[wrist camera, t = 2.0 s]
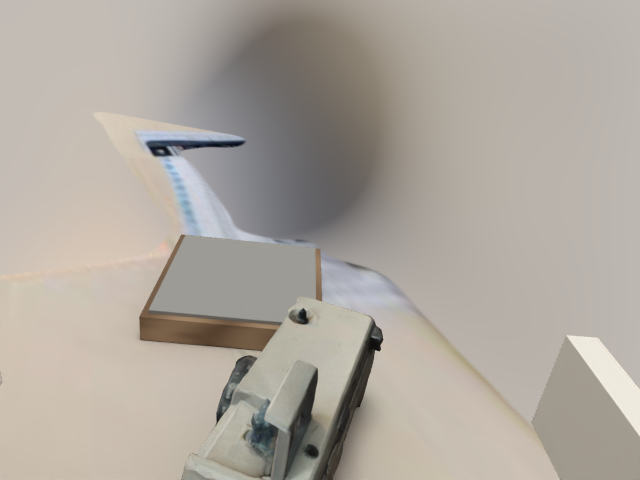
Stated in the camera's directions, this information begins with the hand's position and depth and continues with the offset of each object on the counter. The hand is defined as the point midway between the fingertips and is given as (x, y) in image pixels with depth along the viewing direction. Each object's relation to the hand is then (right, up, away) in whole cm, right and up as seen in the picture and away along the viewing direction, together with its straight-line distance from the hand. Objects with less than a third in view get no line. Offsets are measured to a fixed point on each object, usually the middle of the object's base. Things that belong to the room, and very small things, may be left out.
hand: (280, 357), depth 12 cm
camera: (-2, -10, +17) cm, 20 cm away
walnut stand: (-6, -2, +31) cm, 32 cm away
